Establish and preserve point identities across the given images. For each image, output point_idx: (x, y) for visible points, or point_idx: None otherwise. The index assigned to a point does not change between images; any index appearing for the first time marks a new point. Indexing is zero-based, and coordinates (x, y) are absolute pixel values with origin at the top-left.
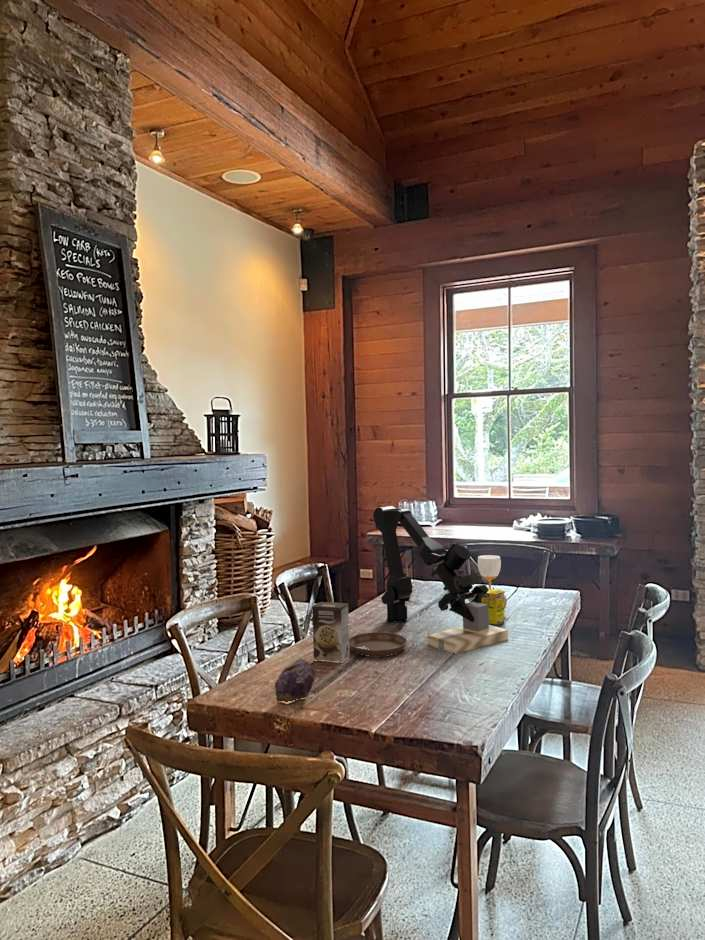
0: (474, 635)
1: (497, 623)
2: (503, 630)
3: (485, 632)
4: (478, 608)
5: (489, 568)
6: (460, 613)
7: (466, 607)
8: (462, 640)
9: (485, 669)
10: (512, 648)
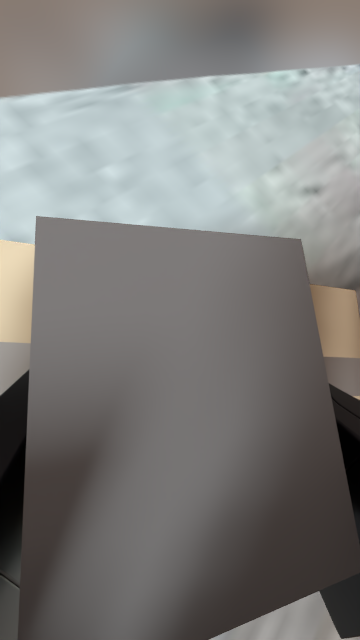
0: None
1: None
2: (31, 251)
3: None
4: (275, 247)
5: None
6: None
7: (348, 412)
8: (312, 297)
9: (328, 162)
10: (128, 187)
